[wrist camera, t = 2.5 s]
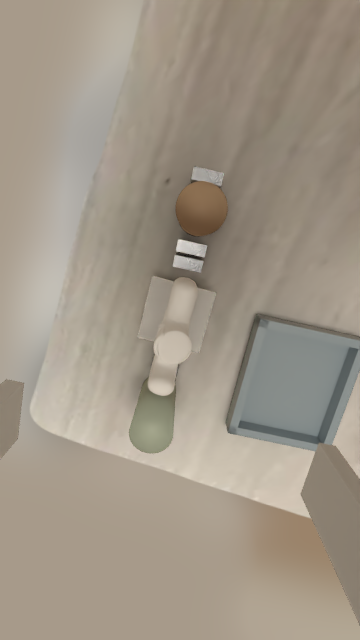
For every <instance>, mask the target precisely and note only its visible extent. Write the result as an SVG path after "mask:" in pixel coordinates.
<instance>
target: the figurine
mask: <svg viewBox="0 0 360 640" xmlns="http://www.w3.org/2000/svg"><path fill="white" fill-rule="evenodd" d="M216 294H217V293H216V292H212V291H209V290H205V289H201V288H197V285H196V283H195V282H194V281H193V280H192V279H190V278H186V277H179V278H177V279H176V280H175V281H171V280H167V279H163V278H160V277H156V276H152V279H151V283H150V287H149V291H148V295H147V299H146V303H145V307H144V311H143V316H142V320H141V324H140V328H139V332H138V336H137V338H141V339H144V340H148V341H152V342H154V346H153V349H154V353H155V356H154V359H153V362H152V366H151V370H150V375H149V379H148V388H149V390H150V391H151V392H153V393H154V394H157V395H161V396H166V395H169V394H171V393H172V392H173V390H174V386H175V378H176V373H177V368H178V364H179V363H182V362H184V361H185V360H186V359H187V358H188V357H189V355H190V353H191V352H195V353H199V352H200V348H201V345H202V341H203V338H204V334H205V331H206V328H207V324H208V321H209V317H210V314H211V311H212V307H213V304H214V300H215V297H216Z"/></svg>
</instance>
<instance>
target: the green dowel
mask: <svg viewBox="0 0 360 640" xmlns="http://www.w3.org/2000/svg"><path fill="white" fill-rule="evenodd" d="M148 379H149V377H148V378H147V379H146V380H145V381H144V383H143V386H142V389H141V392H140V396H139V399H138V402H137V406H136V409H135V413H134V416H133V419H132V423H131V426H130V429H129V437H130V440H131V442H132V444H133V445H134V446H135V447H136V448H137V449H138V450H140V451H142V452H145V453H158V452H161V451H163V450H165V449H166V448H167V447H168V446H169V445H170V443H171V441H172V438H173V427H174V412H175V397H176V387H175V386H174V390H173V392H172V393H171V394H169V395H166V396H161V395H157V394H154V393H153V392H151V391H150V390H149V388H148Z"/></svg>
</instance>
